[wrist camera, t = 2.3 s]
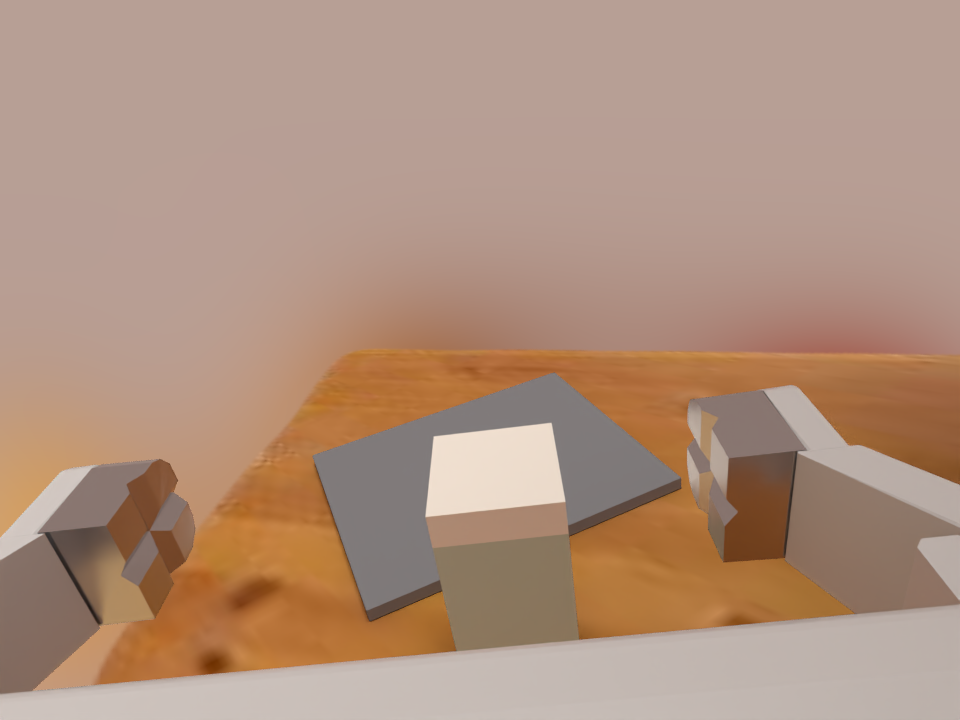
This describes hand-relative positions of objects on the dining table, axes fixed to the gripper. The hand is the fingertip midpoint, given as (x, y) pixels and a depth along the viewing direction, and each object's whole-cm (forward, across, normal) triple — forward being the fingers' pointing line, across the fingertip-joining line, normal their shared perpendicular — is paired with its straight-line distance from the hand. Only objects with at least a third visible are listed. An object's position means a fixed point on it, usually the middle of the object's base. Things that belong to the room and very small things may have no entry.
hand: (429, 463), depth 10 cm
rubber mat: (+27, +2, +21) cm, 35 cm away
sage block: (+12, 0, +21) cm, 25 cm away
